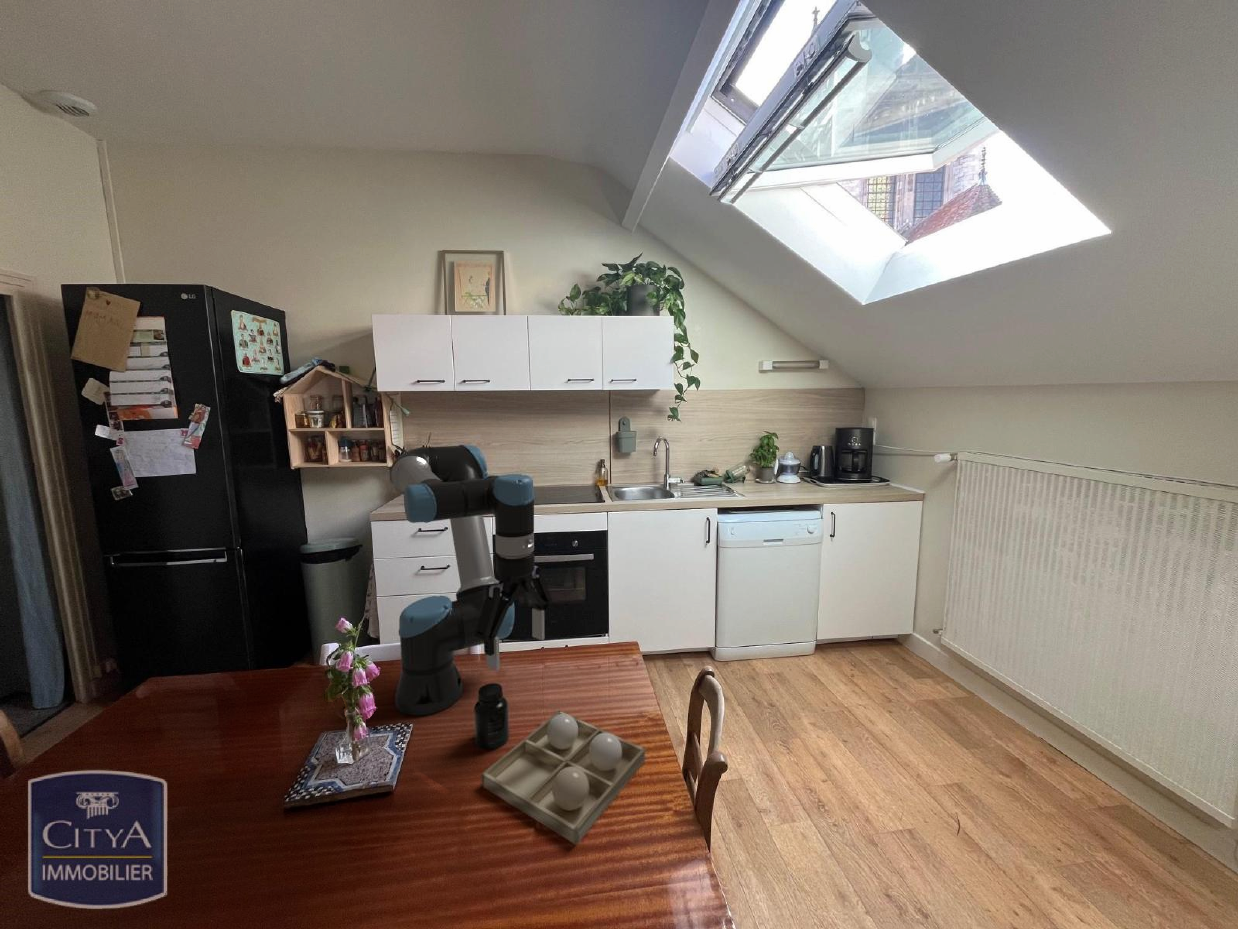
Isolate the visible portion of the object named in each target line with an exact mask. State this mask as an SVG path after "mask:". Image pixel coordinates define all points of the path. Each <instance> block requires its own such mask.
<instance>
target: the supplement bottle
mask: <svg viewBox="0 0 1238 929" xmlns="http://www.w3.org/2000/svg"><path fill="white" fill-rule="evenodd" d="M477 692H478V698H477V701H476V703H475V705H474V708H473V713H474V714H473V715H474V732H475V733H474V734H475V745H476V746H477V747H478V748H479V749H481V750H484V751H495V750H498V749H500V748H501V747H503V746H505V745H506V744H507V743H508V741H509V740H510V722H509V721H510V720H509V718H510V717H509V702H508V700H507V698H506V697H504V695H503V686H502V685H501V684H500V683H495V682H494V683H486V684H484V685H482V686H481V687H479V689H478V691H477Z"/></svg>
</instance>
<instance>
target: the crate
mask: <svg viewBox="0 0 1238 929" xmlns="http://www.w3.org/2000/svg"><path fill="white" fill-rule="evenodd" d="M559 714H567V713H565V712H563V711H561V710H558V711H557V712H556V713H554V714H553V715H552V716H550V717H549V718H548V719H547V720H545V721H544V722H543V723H542V724H540V726H538V727H537V728H536V729H535V730H533V731H532V732H531V733H530V734H528V735H527V736H526V737H525V738H523V740H521V741H520V742H519V743H518V744H516V745H515V746H514V747H513V748H511V750H509V751H507V752H506V753H505V754H504V755H502V756H501V757H500V758H499V759H498V760H497V761H495V762H494V763H493V764H492V765H490V766H489V767H488V768H487V769H486V770H485V771H483V772H482V773H481V784H482V785H481V786H482V787H483V788H484V789H486V790H487V791H489V792H490V793H492V794H494V795H495V796H497V797H498V798H500V799H502V800H504V802H506V803H508V804H510V805H512V806H513V807H515V808H516V809H517V810H520V811H521V812H522V813H523V814H526V815H527V816H528V817H531V818H532V819H533V820H535V821H536V822H539V823H541V824H542V825H543V826H545V827H547V828H548V829H549V830H552V831H553V832H555V833H556V834H558V835H560V836H561V837H563V839H566V840H568V841H569V842H571V843H572V844H574V845H575V846H578V844H579V843H580V841H581V840H582V839H584V837H585V836H586V834H587V833H588V832H589V831H590V829H591V828H592V827H593V826H594V824H595V823H596V822H597V821H598V819H599V818H600V817H601V816H602V815H603V813H604V812H605V811H606V810H607V808H608V807H609V806H610V805H611V804H612V802H613V801H614V800H615V799H616V798H617V797H618V795H619V794H620V792H622V790H623V789H624V787H625V786H626V785H627V784H628V782H630V780H631V779H632V778H633V777H634V775H635V774H636V773H637V772H638V771H639V769H640V768H641V767H642V766H643V764H644V763H645V762H646V748H644V747H642V746H640V745H637V744H635V743H634V742H633V743H632V742H631V741H629V740H627V739H624V738H622V737H620V736H617V735H616V734H613V735H614V736H616V737H617V739H618V740H619V742H620V744H621V747H622V757H621V760H620V762H619V764H618V765H617V766H616V767H615V768H614V769H612V770H610V771H600V770H598V769H596V768H595V767H594V766H593V765H592V763H591V761H590V758H589V746H590V744H591V742H592V740H593V739H594V738H595V737H596V736H597V735H599V734H601V733H610V734H612V733H611V732H608V731H607V730H604V729H601V728H599V727H597V726H594V725H592V724H590V723H589V722H586V721H583V720H581V719H579V718H577V717H575V716H572V717H573V718H574V719H575V721H576V722H577V725H578V736H577V739H576V741H575V743H574V744H573V745H572V746H571V747H569V748H567V749H563V750H560V749H556V748H554V747H553V746H552V745H551V744H550V743H549V741H548V738H547V727H548V724H549V722H550V721H551V719H552V718H554V717H555V716H556V715H559ZM566 767H577V768H579V769H581V770H582V771H583V772H584V773H585V775H586V776H587V778H588V782H589V793H588V797H587V799H586V801H585V802H584V804H583V805H582V806H581V807H579V808H578V809H576V810H573V811H567V810H564V809H562V808H560V807H559V806H558V805H557V804H556V802H555V800H554V798H553V794H552V786H553V782H554V779H555V777H556V775H557V774H558V773H559V772H560V771H561V770H562V769H564V768H566Z"/></svg>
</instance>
